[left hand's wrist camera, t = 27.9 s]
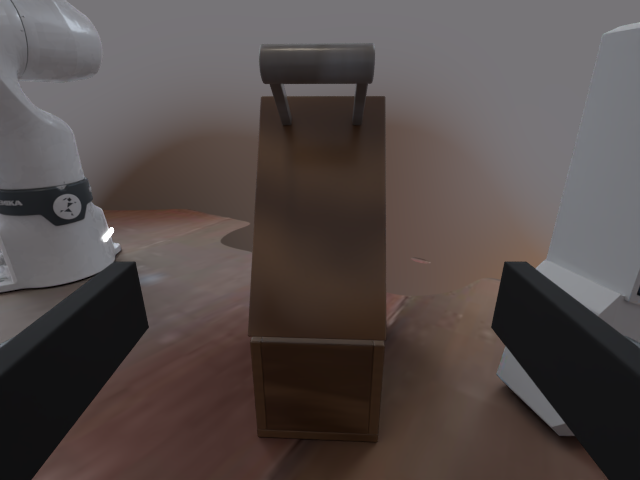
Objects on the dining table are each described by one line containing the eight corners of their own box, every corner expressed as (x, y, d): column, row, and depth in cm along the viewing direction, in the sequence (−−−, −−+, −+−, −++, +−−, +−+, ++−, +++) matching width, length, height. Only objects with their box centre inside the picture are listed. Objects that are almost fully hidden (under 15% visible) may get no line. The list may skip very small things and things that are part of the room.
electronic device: (592, 359, 37) (704, 28, 26) (677, 417, 30) (875, 2, 19) (492, 383, 34) (571, 18, 23) (561, 452, 27) (719, -18, 16)
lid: (263, 102, 28) (231, 18, 20) (383, 102, 28) (405, 16, 19) (250, 335, 25) (208, 355, 17) (384, 339, 25) (409, 362, 16)
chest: (287, 316, 45) (284, 249, 41) (363, 318, 44) (366, 250, 41) (257, 437, 28) (249, 341, 25) (377, 442, 28) (384, 346, 25)
